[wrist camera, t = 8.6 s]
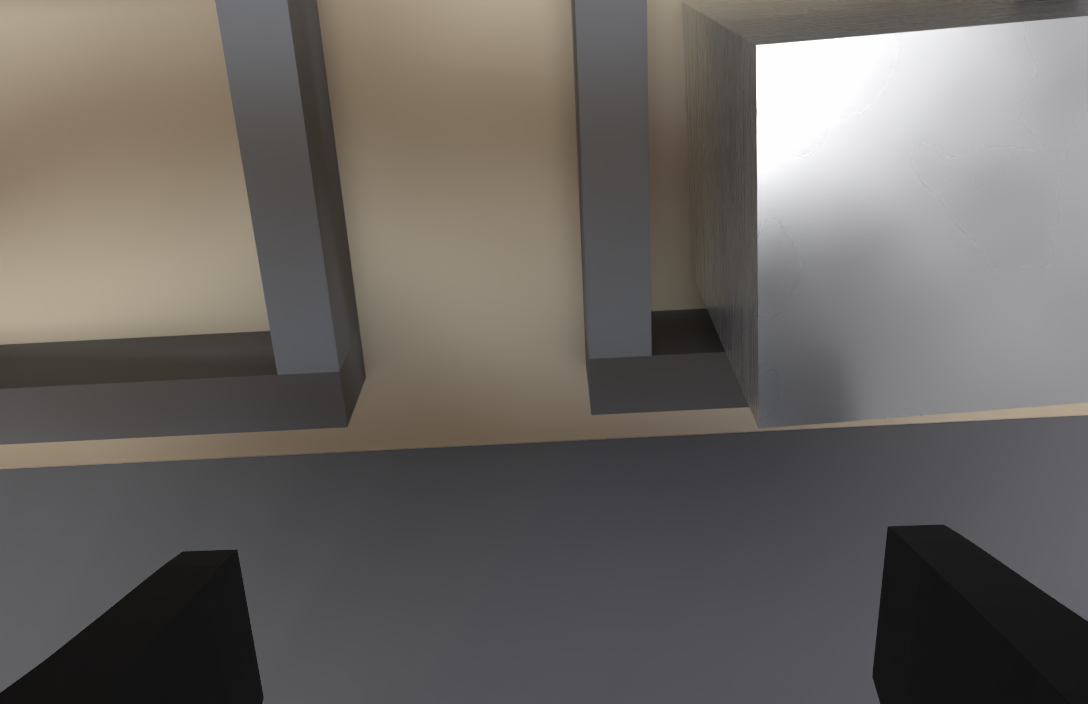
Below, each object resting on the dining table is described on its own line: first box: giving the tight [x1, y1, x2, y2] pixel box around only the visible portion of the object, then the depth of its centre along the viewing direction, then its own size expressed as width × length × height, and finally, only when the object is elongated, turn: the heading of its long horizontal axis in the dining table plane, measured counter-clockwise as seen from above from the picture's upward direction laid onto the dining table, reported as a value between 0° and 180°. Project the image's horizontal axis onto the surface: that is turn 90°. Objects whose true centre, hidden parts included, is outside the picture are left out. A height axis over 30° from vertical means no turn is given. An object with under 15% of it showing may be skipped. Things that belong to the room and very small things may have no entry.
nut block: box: [682, 0, 1088, 429], centre depth 14 cm, size 4×4×6 cm
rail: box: [0, 0, 1088, 469], centre depth 17 cm, size 11×24×3 cm, turn 93°
